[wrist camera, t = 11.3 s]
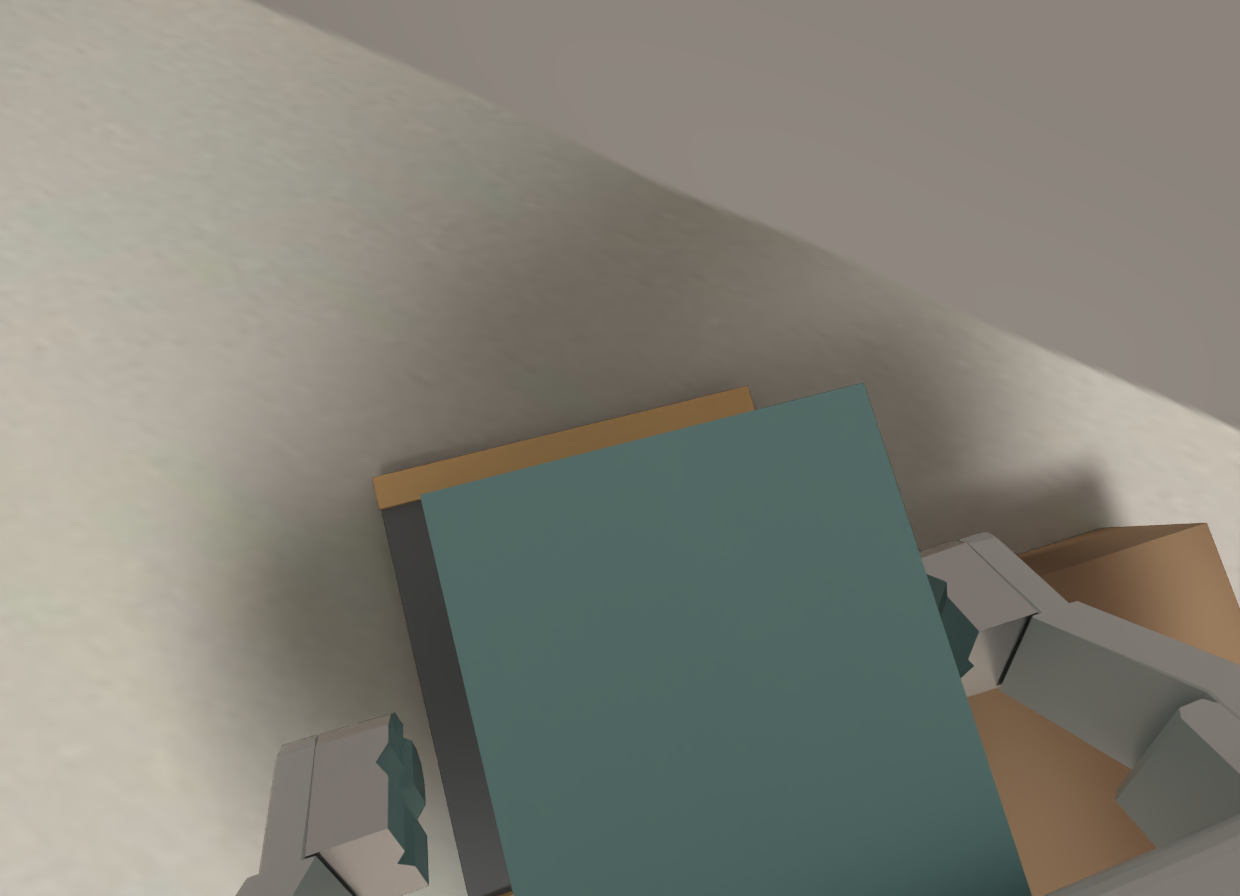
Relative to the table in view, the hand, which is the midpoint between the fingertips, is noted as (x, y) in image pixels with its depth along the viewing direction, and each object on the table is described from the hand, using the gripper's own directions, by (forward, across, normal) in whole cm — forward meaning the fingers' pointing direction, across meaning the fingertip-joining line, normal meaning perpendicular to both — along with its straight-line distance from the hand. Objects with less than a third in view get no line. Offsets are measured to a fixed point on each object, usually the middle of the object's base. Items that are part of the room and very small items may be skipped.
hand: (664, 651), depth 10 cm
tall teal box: (+4, 0, +5) cm, 6 cm away
